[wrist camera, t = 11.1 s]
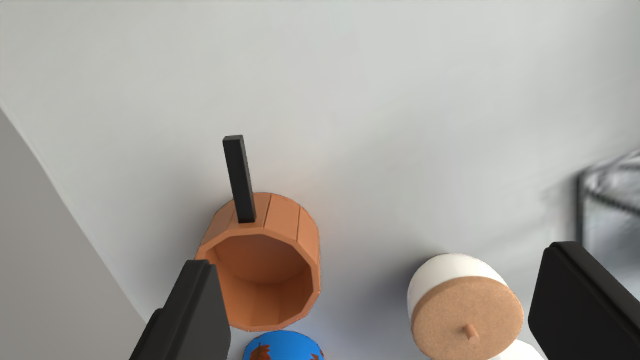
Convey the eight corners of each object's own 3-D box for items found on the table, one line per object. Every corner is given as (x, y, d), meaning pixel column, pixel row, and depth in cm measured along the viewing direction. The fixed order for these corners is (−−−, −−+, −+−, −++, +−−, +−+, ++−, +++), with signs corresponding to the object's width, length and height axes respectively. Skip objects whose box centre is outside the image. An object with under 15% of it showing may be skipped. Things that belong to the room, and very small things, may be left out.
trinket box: (403, 318, 47) (422, 387, 39) (391, 245, 43) (409, 306, 34) (493, 303, 46) (532, 371, 38) (489, 227, 42) (533, 285, 33)
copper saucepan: (181, 124, 37) (153, 149, 31) (307, 114, 37) (304, 137, 30) (220, 288, 45) (204, 335, 39) (323, 281, 45) (324, 327, 38)
